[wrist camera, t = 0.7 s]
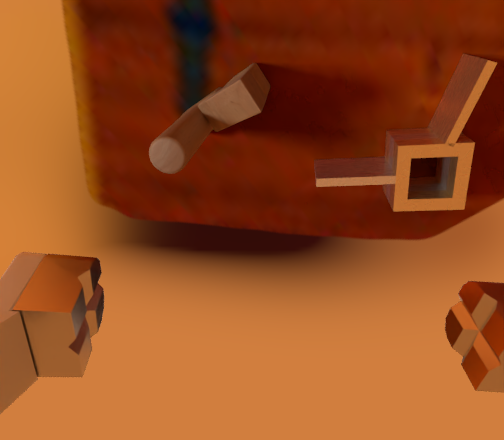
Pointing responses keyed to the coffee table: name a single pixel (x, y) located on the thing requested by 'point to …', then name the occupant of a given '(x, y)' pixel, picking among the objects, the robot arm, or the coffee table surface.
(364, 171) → the cream winged socket block
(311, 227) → the coffee table surface
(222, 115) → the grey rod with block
